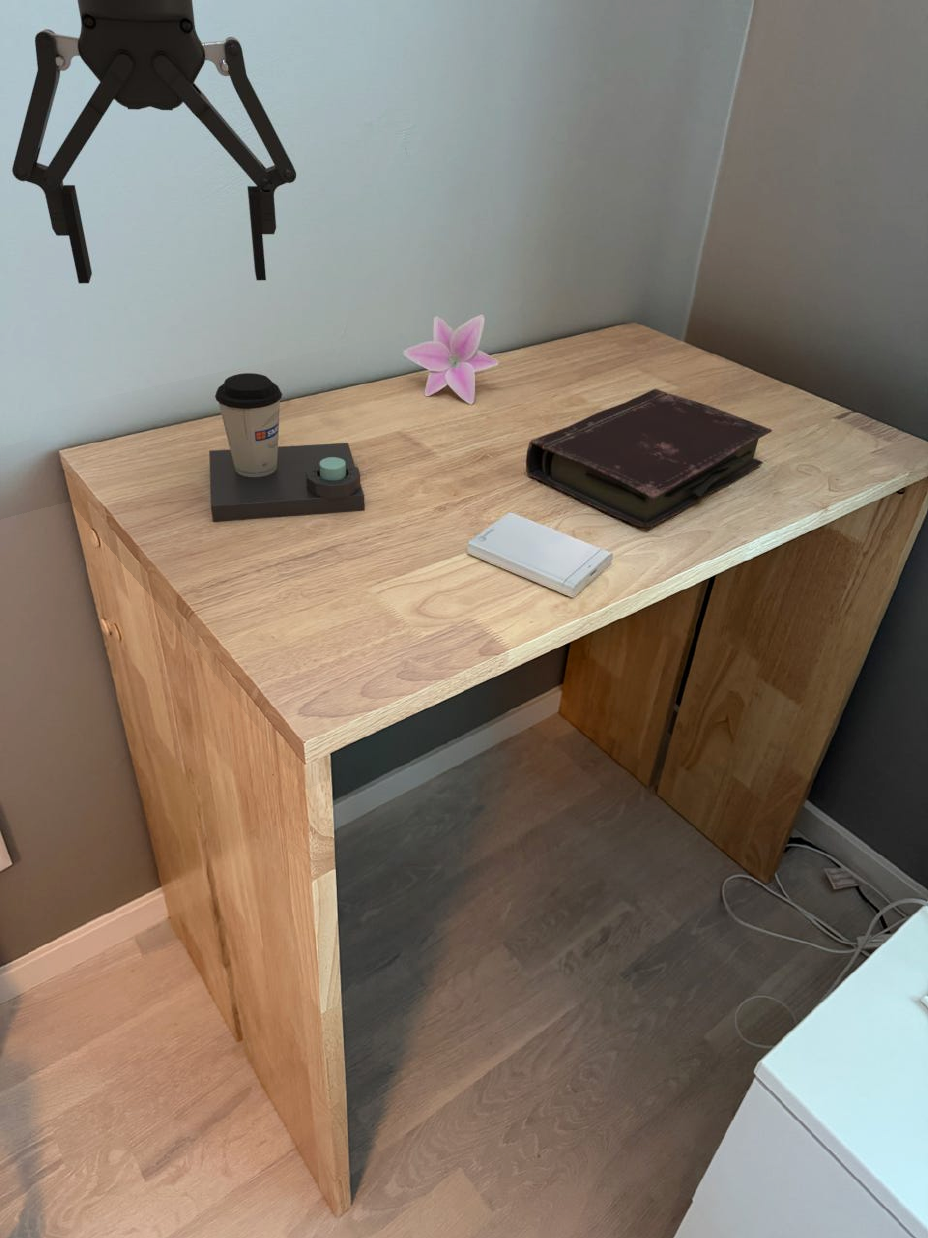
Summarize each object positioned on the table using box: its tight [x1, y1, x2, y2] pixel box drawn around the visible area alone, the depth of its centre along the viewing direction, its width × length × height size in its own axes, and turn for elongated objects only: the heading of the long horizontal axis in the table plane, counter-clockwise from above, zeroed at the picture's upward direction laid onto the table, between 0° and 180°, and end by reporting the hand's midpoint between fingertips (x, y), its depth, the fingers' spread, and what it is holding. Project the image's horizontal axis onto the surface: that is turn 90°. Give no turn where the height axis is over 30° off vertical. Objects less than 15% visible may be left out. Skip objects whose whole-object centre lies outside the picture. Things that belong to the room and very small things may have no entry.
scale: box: [208, 442, 365, 522], centre depth 98 cm, size 16×13×4 cm
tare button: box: [319, 457, 346, 480], centre depth 95 cm, size 3×3×2 cm
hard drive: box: [466, 511, 614, 598], centre depth 89 cm, size 2×8×12 cm
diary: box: [525, 388, 773, 528], centre depth 105 cm, size 19×25×5 cm
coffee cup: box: [214, 372, 283, 477], centre depth 95 cm, size 7×7×10 cm
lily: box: [402, 314, 500, 405], centre depth 122 cm, size 12×12×10 cm
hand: (174, 277), depth 71 cm, fingers open, 13 cm apart
